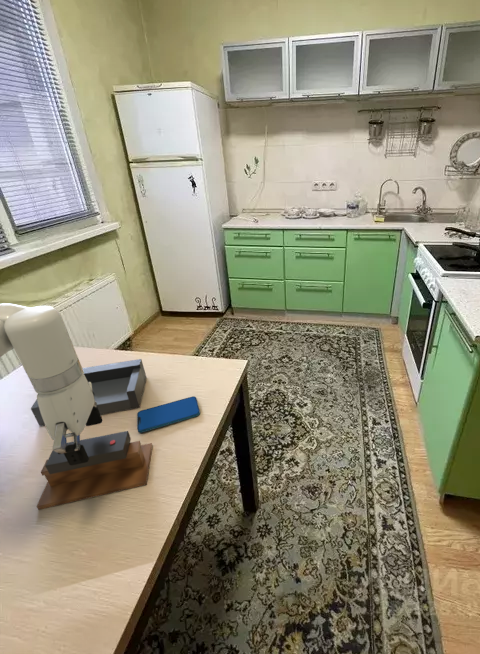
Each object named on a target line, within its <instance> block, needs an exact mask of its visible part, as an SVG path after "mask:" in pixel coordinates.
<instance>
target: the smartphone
mask: <svg viewBox="0 0 480 654" xmlns="http://www.w3.org/2000/svg"><path fill="white" fill-rule="evenodd" d="M199 415H201V410H200V406H199V404H198V398H197V397H196V396H195V395H193V396H189V397H185V398H181V399H178V400H175V401H170V402H167V403H162V404H160V405H156V406H153V407H149V408H145V409H141V410H139V411H138V412H136V427H137V432H138V433H140V434H141V433H144V432H148V431H152V430H155V429H158V428H162V427H166V426H169V425H172V424H175V423H179V422H182V421H186V420H189V419H192V418H196V417H198V416H199Z"/></svg>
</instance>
